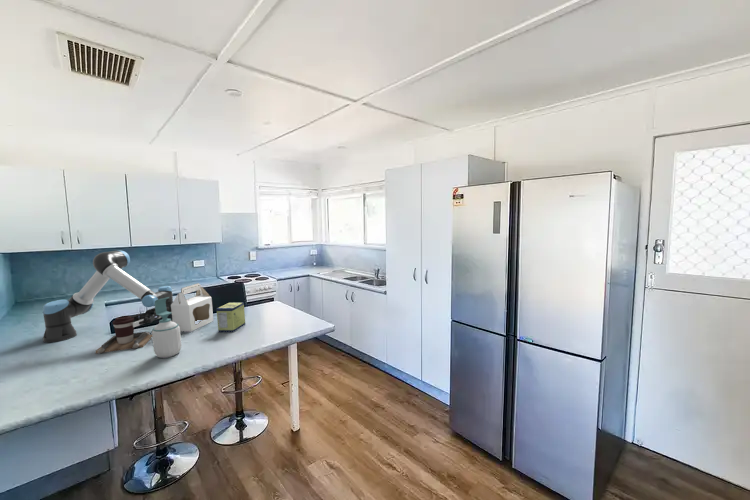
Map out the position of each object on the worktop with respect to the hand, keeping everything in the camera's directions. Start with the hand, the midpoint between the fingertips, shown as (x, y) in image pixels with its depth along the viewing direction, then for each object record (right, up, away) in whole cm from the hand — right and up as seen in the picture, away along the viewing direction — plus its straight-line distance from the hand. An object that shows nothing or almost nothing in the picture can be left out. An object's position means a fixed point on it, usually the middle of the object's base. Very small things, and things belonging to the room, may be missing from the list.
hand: (123, 324), depth 186 cm
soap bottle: (+36, -13, -14) cm, 41 cm away
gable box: (+23, -8, +32) cm, 40 cm away
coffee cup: (0, -11, +2) cm, 11 cm away
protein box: (+53, -8, +24) cm, 58 cm away
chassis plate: (0, -12, +2) cm, 12 cm away
